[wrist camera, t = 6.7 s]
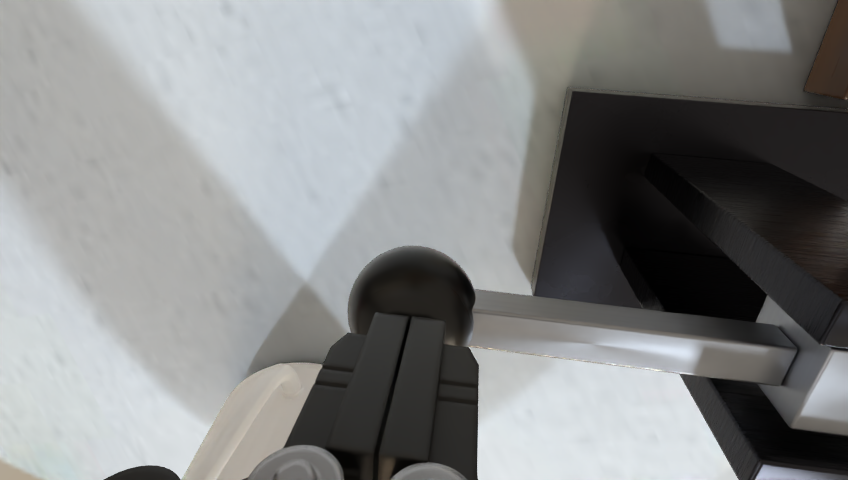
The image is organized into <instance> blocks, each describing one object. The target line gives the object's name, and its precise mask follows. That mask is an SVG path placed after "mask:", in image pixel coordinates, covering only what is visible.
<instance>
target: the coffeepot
mask: <svg viewBox="0 0 848 480" xmlns="http://www.w3.org/2000/svg"><path fill="white" fill-rule="evenodd" d="M320 369H322V364H316V363H286V364H282V363H281V364H276V365H273V366H271V367H268V368H265V369H262V370H260V371H258V372H256V373H254V374H252V375H251V376H249V377H248V378H246V379H245V380H243V381H242V382H241V383H240V384H239V385H238V386H237V387H236V388H235V389H234V390H233V391H232V392H231V394H230V395H229V396H228V398H227V399H226V401H225V403H224V405H223V406H222V408H221V410H220V412H219V414H218V415H217V417H216V419H215V421H214V422H213V424H212V426H211V428H210V430H209V431H208V433H207V435H206V437H205V439H204V440H203V442H202V444H201V446H200V448H199V449H198V451H197V453H196V455H195V456H194V458H193V460H192V462H191V464H190V465H189V467H188V469H187V471H186V473H185V474H184V476H183V478H182V480H242V479H245V478H247V477H249V475H250V474H251V472H252V471H253V470H254V468H255V467H256V466H257V465H258V464H259V463H260V462H261V461H262V460H263V459H265V458H266V457H267V456H269V455H271V454H272V453H274V452H276V451H278V450H280V449H283V447H284V445H285V443H286V441H287V439H288V437H289V435H290V433H291V431H292V429H293V426H294V424H295V422H296V420H297V418H298V416H299V414H300V412H301V409H302V407H303V405H304V403H305V401H306V399H307V397H308V395H309V392H310V390H311V388H312V386H313V384H315V380H316V378H317V376H318V373H319V371H320Z"/></svg>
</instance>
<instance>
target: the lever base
mask: <svg viewBox="0 0 848 480" xmlns="http://www.w3.org/2000/svg"><path fill="white" fill-rule="evenodd" d="M531 289H532V294H533V296H537V297H545V298H554V299H562V300H571V301H579V302H588V303H596V304H604V305H613V306H621V307H630V308H638V309H647V310H655V311H664V312H672V313H681V314H689V315H698V316H706V317H715V318H723V319H732V320H740V321H749V322H756V320H757V317H758V315H759V313H760V310H761V308H762V306H763V304H764V301H765V299H766V297H767V295H768V296H769V297H770V298H771V299H772V300H773V301H774V302H775V303H776V304H777V305H778V306H779V307H781V308H782V309H783V310H784V311H785V312H786V313H787V314H788V315H789V316H790V317H791V318H792V319H793V320H794V321H795V322H796V323H797V324H798V325H799V326H800V327H801V328H803V329H804V330H805V331H806V332H807V333H808V334H809V335H810V336H811V337H812V338H813V339H814V340H815V341H816V342H817V343H818V344H820V345H822V346H827V347H836V348H844V349H848V109H841V108H828V107H816V106H803V105H790V104H777V103H765V102H752V101H739V100H726V99H714V98H701V97H688V96H675V95H663V94H650V93H637V92H624V91H612V90H599V89H586V88H573V87H568V88H567V92H566V98H565V103H564V108H563V114H562V119H561V125H560V130H559V136H558V141H557V147H556V152H555V157H554V163H553V168H552V174H551V179H550V185H549V190H548V196H547V201H546V206H545V212H544V217H543V223H542V228H541V234H540V239H539V245H538V250H537V255H536V261H535V266H534V272H533V277H532V283H531ZM680 376H681V378H682V380H683V381H684V383H685V385H686V387H687V388H688V390H689V392H690V394H691V396H692V397H693V399H694V401H695V403H696V405H697V406H698V408H699V410H700V412H701V413H702V415H703V417H704V419H705V421H706V422H707V424H708V426H709V428H710V430H711V431H712V433H713V435H714V437H715V438H716V440H717V442H718V444H719V446H720V447H721V449H722V451H723V453H724V455H725V456H726V458H727V460H728V462H729V463H730V465H731V467H732V469H733V471H734V472H735V474H736V476H737V478H738V479H739V480H848V436H840V435H833V434H825V433H818V432H811V431H803V430H796V429H792V428H790V427H789V426H788V425H787V423H786V422H785V421H784V419H783V418H782V417H781V415H780V414H779V413H778V411H777V410H776V408H775V407H774V406H773V404H772V403H771V402H770V400H769V399H768V398H767V396H766V395H765V394H764V392H763V391H762V390H761V388H760V387H759V386H758V384H756V383H748V382H741V381H733V380H725V379H717V378H710V377H702V376H694V375H686V374H680Z"/></svg>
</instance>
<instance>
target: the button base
mask: <svg viewBox="0 0 848 480" xmlns="http://www.w3.org/2000/svg"><path fill="white" fill-rule="evenodd" d="M804 91H806V92H810V93H815V94H820V95H824V96H829V97H834V98H839V99H843V100H848V0H838V3H837V5H836V8H835V11H834V13H833V16H832V18H831V21H830V23H829V26H828V29H827V31H826V34H825V36H824V39H823V41H822V44H821V47H820V49H819V52H818V54H817V57H816V59H815V62H814V65H813V67H812V70H811V72H810V75H809V78H808V80H807V83H806V85H805V88H804Z"/></svg>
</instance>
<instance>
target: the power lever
mask: <svg viewBox="0 0 848 480" xmlns="http://www.w3.org/2000/svg"><path fill="white" fill-rule="evenodd" d="M376 312H380V313H388V314H397V315H405V316H410V324H411V320H412V317H413V316H415V317H423V318H432V319H440V320H446V329H445V339H444V344H446V345H454V346H463V347H476V348H484V349H492V350H499V351H507V352H515V353H523V354H531V355H538V356H546V357H554V358H562V359H569V360H577V361H585V362H593V363H601V364H608V365H616V366H624V367H632V368H639V369H647V370H655V371H663V372H671V373H678V374H686V375H694V376H702V377H710V378H717V379H725V380H733V381H741V382H748V383H756V384H758V386H759V387H760V388H761V390H762V391H763V392H764V394H765V395H766V396H767V398H768V399H769V400H770V402H771V403H772V404H773V406H774V407H775V408H776V410H777V411H778V413H779V414H780V415H781V417H782V418H783V419H784V421H785V422H786V423H787V425H788V426H789V427H790V428H792V429H796V430H803V431H811V432H818V433H825V434H833V435H840V436H848V349H844V348H836V347H827V346H822V345H820V344H818V343H817V342H816V341H815V340H814V339H813V338H812V337H811V336H810V335H809V334H808V333H807V332H806V331H805V330H804V329H803V328H801V327H800V326H799V325H798V324H797V323H796V322H795V321H794V320H793V319H792V318H791V317H790V316H789V315H788V314H787V313H786V312H785V311H784V310H783V309H782V308H781V307H779V306H778V305H777V304H776V303H775V302H774V301H773V300H772V299H771V298H770V297H769V296H768V295H767V297H766V299H765V301H764V304H763V306H762V308H761V310H760V313H759V315H758V317H757V320H756V322H749V321H740V320H732V319H723V318H715V317H706V316H698V315H689V314H681V313H672V312H664V311H655V310H647V309H638V308H630V307H621V306H613V305H604V304H596V303H588V302H579V301H571V300H562V299H554V298H545V297H537V296H528V295H520V294H511V293H503V292H494V291H486V290H477V289H474V288H473V286H472V283H471V281H470V279H469V278H468V276H467V274H466V273H465V272H464V270H463V269H462V268H461V267H460V266H459V265H458V264H457V263H456V262H455V261H454V260H453V259H451V258H450V257H449V256H447V255H445V254H444V253H442V252H439V251H437V250H435V249H431V248H428V247H422V246H403V247H398V248H394V249H391V250H389V251H386V252H384V253H382V254H380V255H379V256H377V257H376V258H374V259H373V260H372V261H371V262H370V263H369V264H367V265H366V266H365V268H364V269H363V270H362V271H361V272H360V274H359V275H358V277H357V279H356V280H355V282H354V285H353V287H352V290H351V292H350V296H349V302H348V322H349V327H350V331H351V333H354V334H363V335H367V333H368V330H369V328H370V325H371V322H372V320H373V317H374V314H375V313H376Z"/></svg>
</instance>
